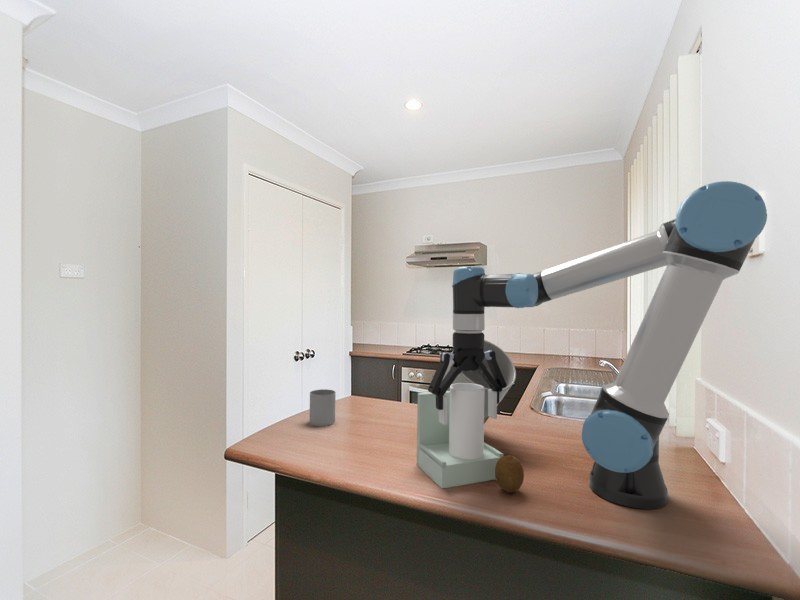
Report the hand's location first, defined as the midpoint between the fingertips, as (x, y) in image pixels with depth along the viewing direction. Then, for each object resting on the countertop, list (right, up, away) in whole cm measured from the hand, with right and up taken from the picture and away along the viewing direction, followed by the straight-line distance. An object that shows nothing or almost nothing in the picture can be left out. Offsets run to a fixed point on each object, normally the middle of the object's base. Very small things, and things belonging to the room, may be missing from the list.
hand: (468, 420), depth 99 cm
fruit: (+8, -13, -8) cm, 18 cm away
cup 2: (0, -8, 0) cm, 8 cm away
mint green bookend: (-2, -13, +2) cm, 13 cm away
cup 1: (-42, -12, +39) cm, 59 cm away
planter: (+1, -8, +33) cm, 34 cm away
